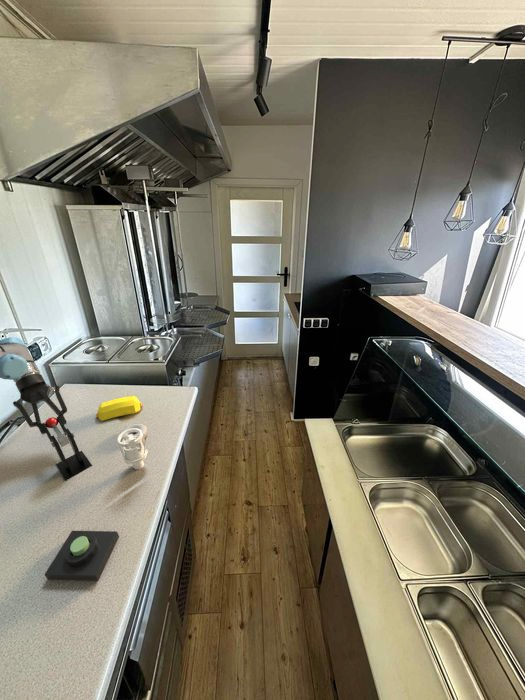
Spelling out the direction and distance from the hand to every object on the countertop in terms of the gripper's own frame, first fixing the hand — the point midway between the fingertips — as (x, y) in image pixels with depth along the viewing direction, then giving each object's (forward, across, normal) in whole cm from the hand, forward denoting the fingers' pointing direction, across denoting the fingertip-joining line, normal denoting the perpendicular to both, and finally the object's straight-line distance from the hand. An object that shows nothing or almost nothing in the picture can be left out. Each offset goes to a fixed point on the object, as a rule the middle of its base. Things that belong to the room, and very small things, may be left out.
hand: (59, 437), depth 96 cm
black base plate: (+34, +8, +22) cm, 41 cm away
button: (+32, +8, +24) cm, 41 cm away
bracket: (+11, 0, -1) cm, 11 cm away
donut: (+13, -20, 0) cm, 23 cm away
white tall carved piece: (+23, -14, +10) cm, 29 cm away
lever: (0, 0, +2) cm, 2 cm away
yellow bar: (0, -23, -13) cm, 26 cm away
